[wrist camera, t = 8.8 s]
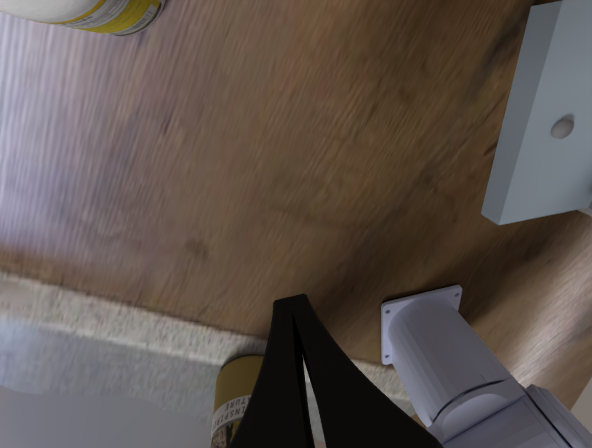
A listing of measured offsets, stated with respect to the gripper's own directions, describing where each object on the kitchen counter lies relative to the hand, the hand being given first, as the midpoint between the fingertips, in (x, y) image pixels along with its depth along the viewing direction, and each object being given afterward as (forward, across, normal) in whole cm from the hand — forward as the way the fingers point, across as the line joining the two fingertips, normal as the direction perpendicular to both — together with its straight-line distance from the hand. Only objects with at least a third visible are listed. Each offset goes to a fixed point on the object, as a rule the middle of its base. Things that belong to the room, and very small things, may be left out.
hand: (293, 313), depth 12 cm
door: (+10, -21, -2) cm, 24 cm away
